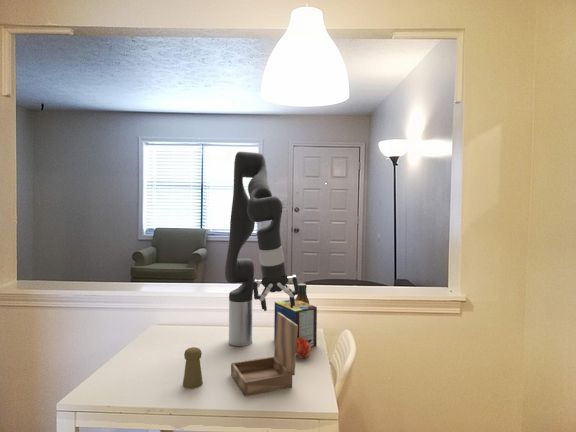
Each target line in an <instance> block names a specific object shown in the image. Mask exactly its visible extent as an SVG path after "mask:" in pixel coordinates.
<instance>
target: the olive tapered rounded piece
mask: <svg viewBox="0 0 576 432" xmlns="http://www.w3.org/2000/svg"><path fill="white" fill-rule="evenodd" d="M183 355H184V359H185V365H184V372H183V373H184V375H183V381H182V386H183V387H184V388H186V389H196V388H199V387H201V386H203V383H204V382H203V375H202V367H201V358H202V349H200V348H199V347H197V346H196V347H195V346H194V347H193V346H192V347H188V348H187V349H186V350H185V351H184V353H183Z"/></svg>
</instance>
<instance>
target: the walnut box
mask: <svg viewBox="0 0 576 432" xmlns="http://www.w3.org/2000/svg"><path fill="white" fill-rule="evenodd" d="M230 376H231V378H232V379H233V380H234V382H235V383H236V385H237V386H238V387H239V389H240V391H241V393H242V394H243V396H244V397H246V396H252V395H257V394H262V393H267V392H268V393H269V392H274V391H278V390H279V391H280V390H283V389H290V388H292V387H293V376H292V374H291V373H290V372H289V371H288V370H287V369H286V368H285V367H284V366H283V365H282V364H281V363H280V362H279V361H278V360H277V359H276V358H275V357H274V356H268V357H261V358H256V359H255V358H254V359H248V360H243V361H237V362H236V361H234V362H231V363H230Z"/></svg>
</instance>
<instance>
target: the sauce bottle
mask: <svg viewBox="0 0 576 432" xmlns="http://www.w3.org/2000/svg"><path fill="white" fill-rule="evenodd" d="M298 288H299V294H298V295H297V296H296V297H295V299H297V300H299V301H302V302H305V303H307V304H310V300H309V298H308V295H307V284H306V283H298Z"/></svg>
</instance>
